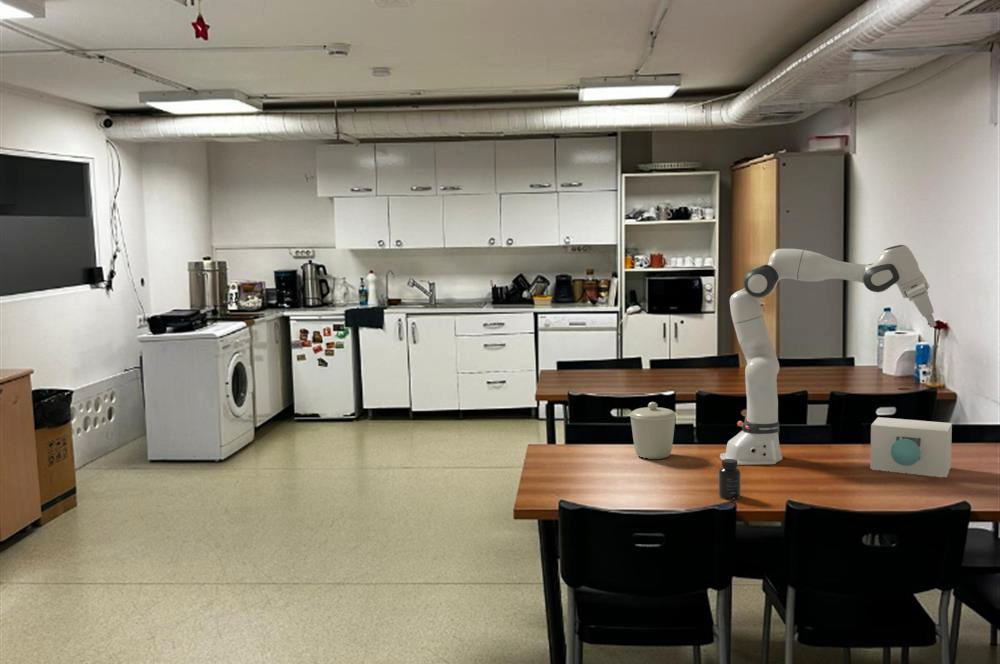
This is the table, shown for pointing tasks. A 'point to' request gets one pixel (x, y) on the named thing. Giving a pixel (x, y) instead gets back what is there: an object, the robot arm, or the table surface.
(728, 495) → the supplement bottle
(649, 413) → the canister
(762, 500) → the table surface
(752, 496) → the table surface
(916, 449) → the knob
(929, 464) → the knob mount
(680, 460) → the table surface
